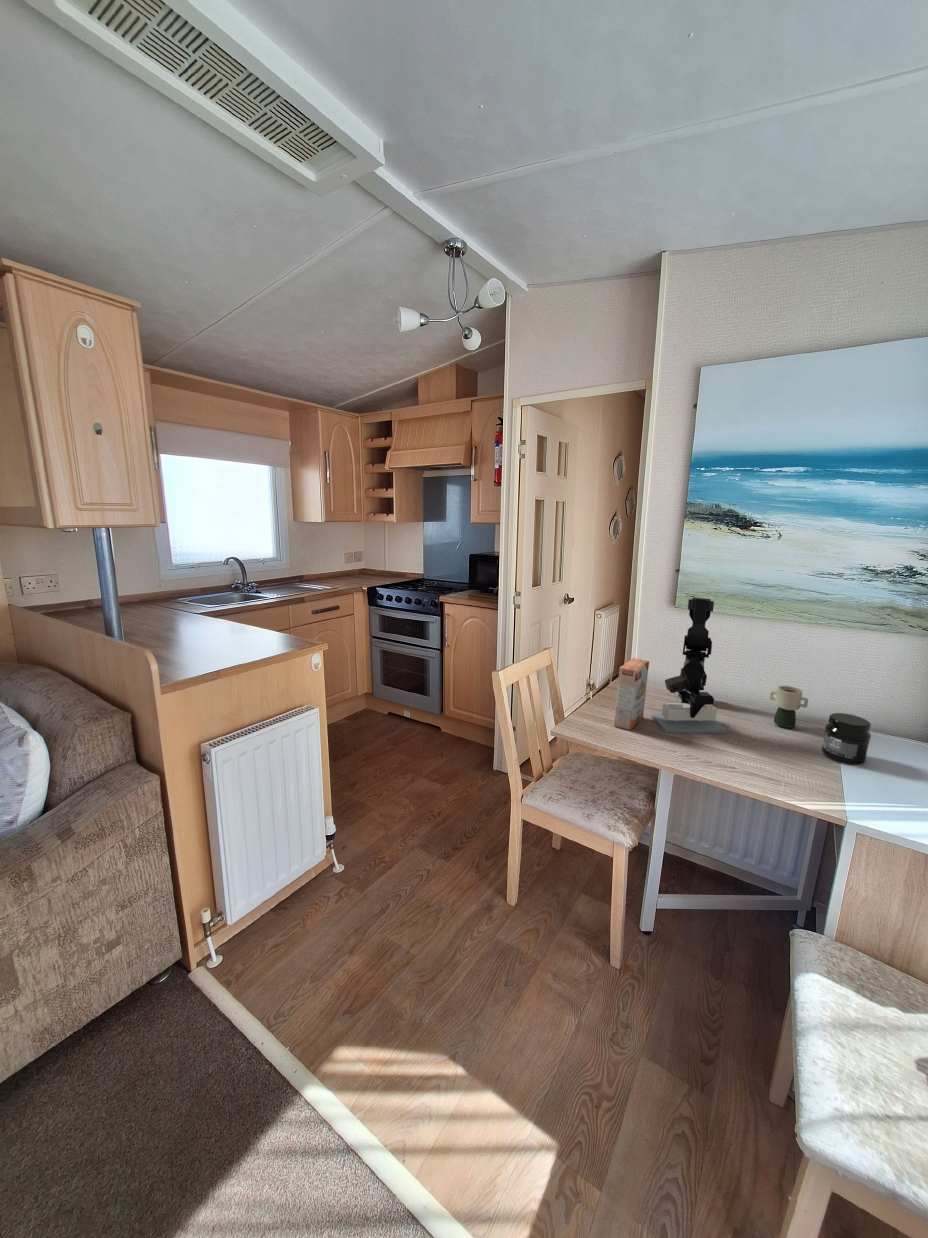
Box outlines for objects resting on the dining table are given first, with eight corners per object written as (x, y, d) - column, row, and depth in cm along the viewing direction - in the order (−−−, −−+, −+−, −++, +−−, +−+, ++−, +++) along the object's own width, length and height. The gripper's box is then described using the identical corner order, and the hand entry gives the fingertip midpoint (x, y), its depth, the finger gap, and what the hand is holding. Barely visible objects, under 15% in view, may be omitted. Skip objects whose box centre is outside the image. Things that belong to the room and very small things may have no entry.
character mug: (805, 727, 165) (811, 690, 162) (800, 733, 160) (807, 696, 157) (768, 717, 172) (774, 682, 169) (762, 723, 167) (768, 687, 164)
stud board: (651, 717, 171) (652, 704, 170) (707, 717, 171) (709, 704, 170) (665, 732, 159) (666, 718, 158) (726, 732, 160) (728, 718, 159)
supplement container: (862, 754, 146) (869, 716, 144) (868, 769, 137) (876, 730, 135) (819, 745, 151) (825, 709, 149) (822, 760, 143) (829, 721, 140)
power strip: (661, 714, 167) (662, 702, 166) (707, 714, 167) (709, 702, 167) (667, 720, 162) (668, 707, 161) (715, 720, 163) (717, 708, 162)
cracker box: (631, 731, 160) (637, 670, 155) (613, 726, 163) (618, 666, 159) (644, 717, 171) (650, 660, 166) (627, 713, 174) (632, 657, 170)
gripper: (658, 661, 170) (653, 703, 174) (682, 679, 152) (676, 726, 155) (689, 661, 171) (685, 703, 174) (717, 679, 152) (711, 726, 156)
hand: (688, 714), depth 165 cm, fingers closed on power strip, 5 cm apart
